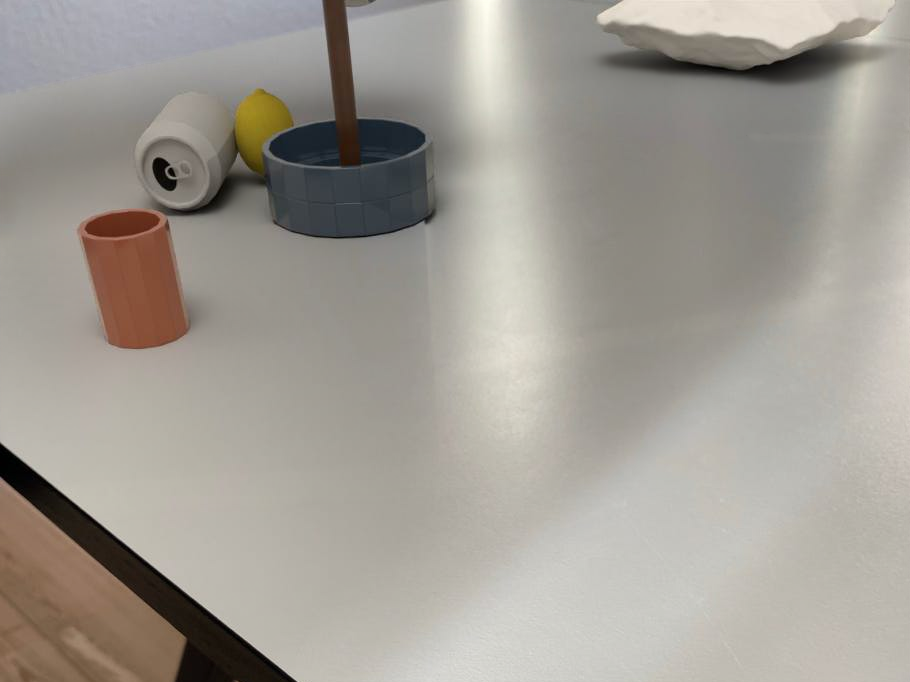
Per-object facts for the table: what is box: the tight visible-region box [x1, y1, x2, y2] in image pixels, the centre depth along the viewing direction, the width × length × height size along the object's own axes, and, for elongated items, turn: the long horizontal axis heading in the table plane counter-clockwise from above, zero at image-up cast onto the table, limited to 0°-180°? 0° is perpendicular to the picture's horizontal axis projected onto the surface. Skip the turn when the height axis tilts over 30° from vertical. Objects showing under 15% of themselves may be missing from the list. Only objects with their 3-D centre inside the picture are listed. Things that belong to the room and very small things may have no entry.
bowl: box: [261, 116, 437, 238], centre depth 95 cm, size 14×14×6 cm
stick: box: [321, 0, 362, 166], centre depth 89 cm, size 2×2×20 cm
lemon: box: [234, 88, 296, 179], centre depth 102 cm, size 6×6×8 cm
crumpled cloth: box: [596, 0, 897, 71], centre depth 130 cm, size 24×35×9 cm
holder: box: [76, 208, 191, 350], centre depth 77 cm, size 6×6×8 cm
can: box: [133, 91, 239, 212], centre depth 100 cm, size 8×8×12 cm
